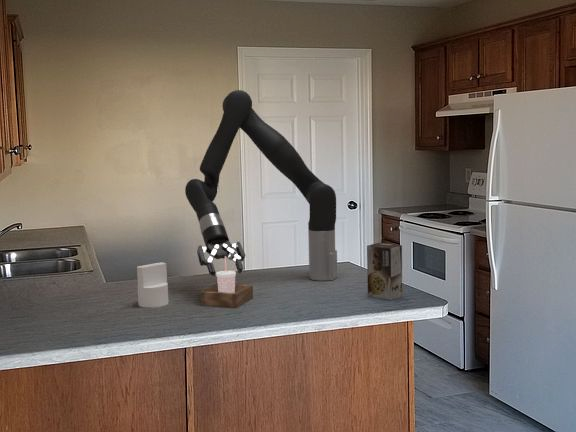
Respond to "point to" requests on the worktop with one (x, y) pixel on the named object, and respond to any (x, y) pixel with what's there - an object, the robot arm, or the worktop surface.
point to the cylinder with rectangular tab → (152, 285)
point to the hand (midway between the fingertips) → (227, 273)
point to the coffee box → (384, 271)
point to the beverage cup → (226, 280)
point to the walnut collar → (226, 296)
